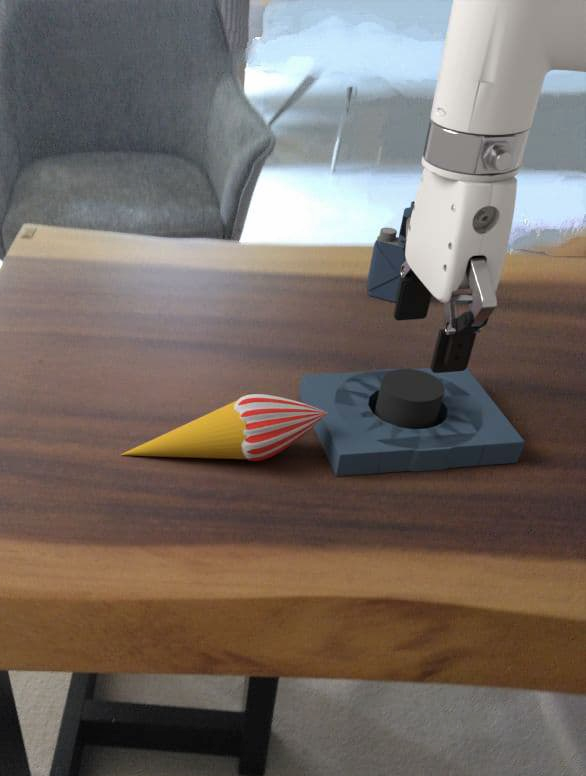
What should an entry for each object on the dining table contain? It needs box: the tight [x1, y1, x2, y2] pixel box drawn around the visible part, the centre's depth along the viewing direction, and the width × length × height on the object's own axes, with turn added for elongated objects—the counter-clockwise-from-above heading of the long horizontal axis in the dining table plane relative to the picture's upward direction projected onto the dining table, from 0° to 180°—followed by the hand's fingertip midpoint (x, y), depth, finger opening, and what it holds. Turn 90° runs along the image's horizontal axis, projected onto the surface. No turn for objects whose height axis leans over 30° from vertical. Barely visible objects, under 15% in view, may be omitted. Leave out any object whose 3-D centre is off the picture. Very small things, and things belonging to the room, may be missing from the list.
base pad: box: [298, 367, 526, 477], centre depth 79 cm, size 18×14×2 cm
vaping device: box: [365, 200, 415, 303], centre depth 98 cm, size 3×5×12 cm, turn 58°
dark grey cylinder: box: [373, 368, 445, 429], centre depth 78 cm, size 6×6×5 cm
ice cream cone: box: [120, 393, 328, 462], centre depth 74 cm, size 6×6×20 cm
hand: (427, 343), depth 74 cm, fingers open, 9 cm apart
